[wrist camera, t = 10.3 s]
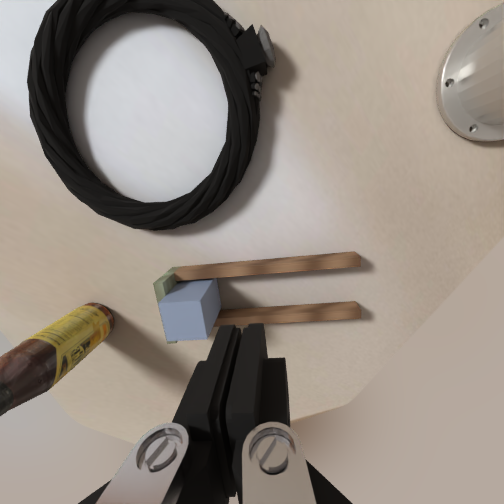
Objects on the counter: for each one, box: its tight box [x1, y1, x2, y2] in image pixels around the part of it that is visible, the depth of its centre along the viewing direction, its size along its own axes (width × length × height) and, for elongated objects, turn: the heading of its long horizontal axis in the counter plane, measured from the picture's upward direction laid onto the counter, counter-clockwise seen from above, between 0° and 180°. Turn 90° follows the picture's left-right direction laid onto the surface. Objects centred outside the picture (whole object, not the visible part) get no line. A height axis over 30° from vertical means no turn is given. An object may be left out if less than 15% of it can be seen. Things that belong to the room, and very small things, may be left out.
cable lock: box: [27, 0, 275, 231], centre depth 30 cm, size 28×4×30 cm
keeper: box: [158, 278, 222, 341], centre depth 33 cm, size 5×5×8 cm
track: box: [153, 252, 361, 344], centre depth 33 cm, size 25×8×6 cm, turn 97°
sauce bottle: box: [0, 303, 114, 416], centre depth 31 cm, size 6×6×20 cm
